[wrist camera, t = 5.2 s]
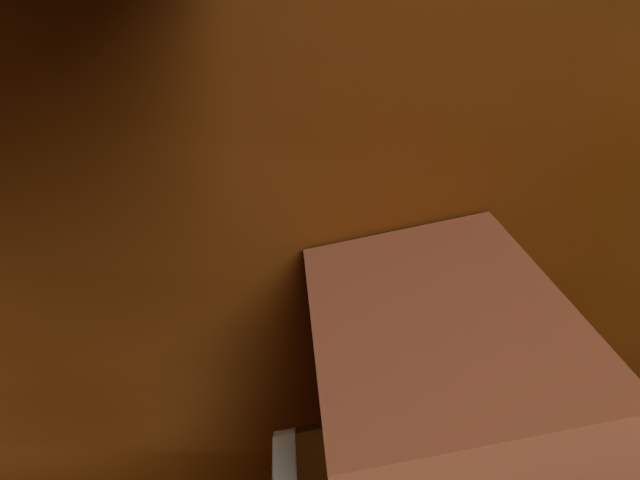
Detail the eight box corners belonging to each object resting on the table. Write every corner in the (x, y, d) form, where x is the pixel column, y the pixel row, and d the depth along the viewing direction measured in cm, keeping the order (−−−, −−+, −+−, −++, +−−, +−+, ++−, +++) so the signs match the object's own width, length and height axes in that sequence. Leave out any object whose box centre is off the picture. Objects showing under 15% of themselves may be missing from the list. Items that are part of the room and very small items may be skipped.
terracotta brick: (303, 249, 10) (327, 476, 5) (488, 211, 9) (668, 411, 5) (356, 465, 14) (393, 689, 9) (485, 439, 14) (582, 654, 9)
